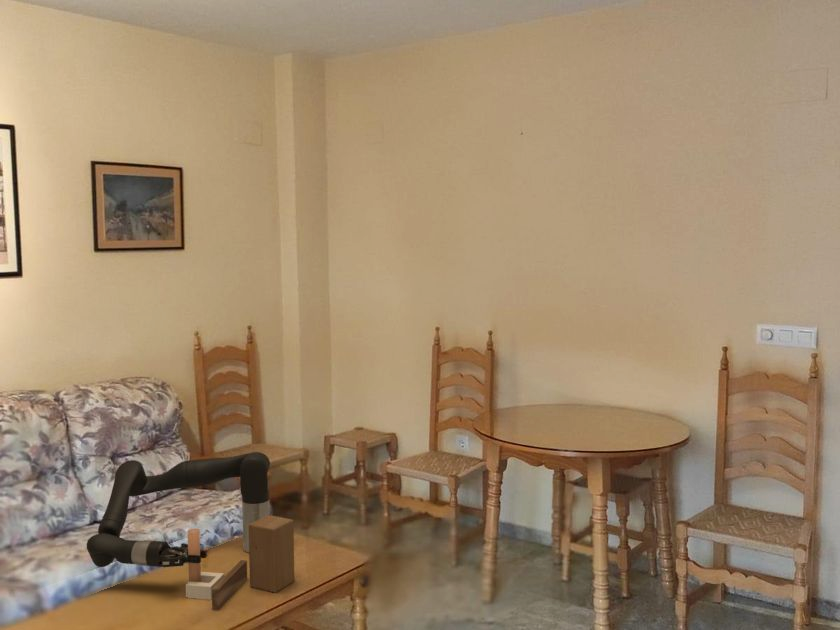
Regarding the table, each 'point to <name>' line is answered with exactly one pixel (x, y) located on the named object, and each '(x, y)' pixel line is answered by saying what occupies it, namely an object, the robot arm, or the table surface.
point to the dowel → (194, 550)
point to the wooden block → (271, 553)
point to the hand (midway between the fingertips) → (203, 556)
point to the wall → (229, 585)
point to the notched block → (203, 586)
